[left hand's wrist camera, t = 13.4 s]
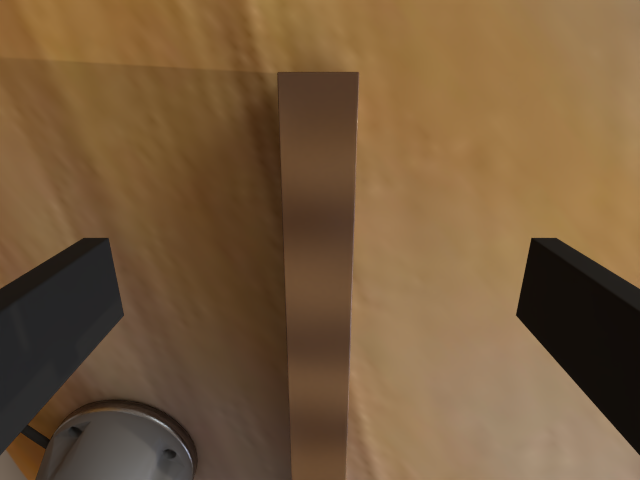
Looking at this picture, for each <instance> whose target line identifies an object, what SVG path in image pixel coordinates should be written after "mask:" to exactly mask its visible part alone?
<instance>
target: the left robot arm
mask: <svg viewBox="0 0 640 480" xmlns="http://www.w3.org/2000/svg"><path fill="white" fill-rule="evenodd" d="M123 316H124V313H123V308H122V303H121V298H120V293H119V288H118V283H117V278H116V273H115V268H114V263H113V258H112V253H111V248H110V243H109V238H83V239H81V240H80V241H78V242H76V243H75V244H73V245H71V246H70V247H68V248H67V249H65V250H63V251H62V252H60V253H58V254H57V255H55V256H53V257H52V258H50V259H49V260H47V261H45V262H44V263H42V264H40V265H39V266H37V267H36V268H34V269H32V270H31V271H29V272H27V273H26V274H24V275H22V276H21V277H19V278H18V279H16V280H14V281H13V282H11V283H9V284H8V285H6V286H4V287H3V288H1V289H0V455H1V454H2V453H3V452H4V450H5V449H6V448H7V447H8V446H9V445H10V444H11V443H12V441H13V440H14V439H15V438H16V437H17V436H18V435H19V433H20V432H21V433H22V434H24V435H25V436H27V437H28V438H30V439H31V440H33V441H34V442H36V443H37V444H39V445H40V446H42V447H43V448H45V449H46V451H45V454H44V457H43V460H42V462H41V465H40V468H39V471H38V474H37V477H36V479H35V480H193V478H194V475H195V472H196V468H197V453H196V449H195V446H194V444H193V442H192V440H191V438H190V436H189V435H188V434H187V432H186V431H185V430H184V429H183V428H182V426H180V425H179V424H178V423H177V422H176V421H175V420H174V419H172V418H171V417H169V416H168V415H166V414H165V413H163V412H161V411H159V410H157V409H155V408H153V407H150V406H147V405H144V404H141V403H137V402H132V401H125V400H106V401H99V402H94V403H91V404H88V405H85V406H83V407H81V408H79V409H77V410H75V411H74V412H72V413H71V414H70V415H69V416H68V417H67V418H66V419H65V420H64V421H63V423H62V424H61V425H60V426H59V428H58V429H57V430H56V432H55V433H54V434H53V436H52V438H51V440H50V439H48V438H47V437H45V436H43V435H42V434H40V433H39V432H37V431H36V430H34V429H33V428H31V427H30V426H29V425H27V424H28V423H29V422H30V421H31V420H32V419H33V418H34V417H35V415H36V414H37V413H38V412H39V411H40V410H41V409H42V407H43V406H44V405H45V404H46V403H47V402H48V401H49V400H50V398H51V397H52V396H53V395H54V394H55V393H56V392H57V390H58V389H59V388H60V387H61V386H62V385H63V384H64V383H65V381H66V380H67V379H68V378H69V377H70V376H71V375H72V374H73V372H74V371H75V370H76V369H77V368H78V367H79V366H80V364H81V363H82V362H83V361H84V360H85V359H86V358H87V357H88V355H89V354H90V353H91V352H92V351H93V350H94V349H95V348H96V346H97V345H98V344H99V343H100V342H101V341H102V340H103V338H104V337H105V336H106V335H107V334H108V333H109V332H110V331H111V329H112V328H113V327H114V326H115V325H116V324H117V323H118V321H119V320H120V319H121V318H122V317H123ZM516 316H517V317H518V318H519V319H520V320H521V321H522V323H523V324H524V325H525V326H526V327H527V328H528V329H529V331H530V332H531V333H532V334H533V335H534V336H535V337H536V338H537V340H538V341H539V342H540V343H541V344H542V345H543V346H544V348H545V349H546V350H547V351H548V352H549V353H550V354H551V355H552V357H553V358H554V359H555V360H556V361H557V362H558V363H559V364H560V366H561V367H562V368H563V369H564V370H565V371H566V372H567V374H568V375H569V376H570V377H571V378H572V379H573V380H574V381H575V383H576V384H577V385H578V386H579V387H580V388H581V389H582V390H583V392H584V393H585V394H586V395H587V396H588V397H589V398H590V400H591V401H592V402H593V403H594V404H595V405H596V406H597V407H598V409H599V410H600V411H601V412H602V413H603V414H604V415H605V417H606V418H607V419H608V420H609V421H610V422H611V423H612V424H613V426H614V427H615V428H616V429H617V430H618V431H619V432H620V433H621V435H622V436H623V437H624V438H625V439H626V440H627V441H628V443H629V444H630V445H631V446H632V447H633V448H634V449H635V450H636V452H637V453H638V454H639V455H640V289H639V288H637V287H636V286H634V285H632V284H631V283H629V282H627V281H626V280H624V279H622V278H621V277H619V276H618V275H616V274H614V273H613V272H611V271H609V270H608V269H606V268H604V267H603V266H601V265H600V264H598V263H596V262H595V261H593V260H591V259H590V258H588V257H587V256H585V255H583V254H582V253H580V252H578V251H577V250H575V249H573V248H572V247H570V246H569V245H567V244H565V243H564V242H562V241H560V240H559V239H557V238H531V243H530V248H529V253H528V258H527V263H526V268H525V273H524V278H523V283H522V288H521V293H520V298H519V303H518V308H517V313H516Z"/></svg>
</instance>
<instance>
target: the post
mask: <svg viewBox="0 0 640 480" xmlns="http://www.w3.org/2000/svg"><path fill="white" fill-rule="evenodd" d="M277 75H278V104H279V133H280V161H281V190H282V219H283V247H284V276H285V305H286V333H287V362H288V391H289V419H290V448H291V477H292V480H346V465H347V434H348V403H349V372H350V341H351V310H352V279H353V248H354V217H355V186H356V155H357V124H358V94H359V72H278V73H277Z"/></svg>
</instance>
